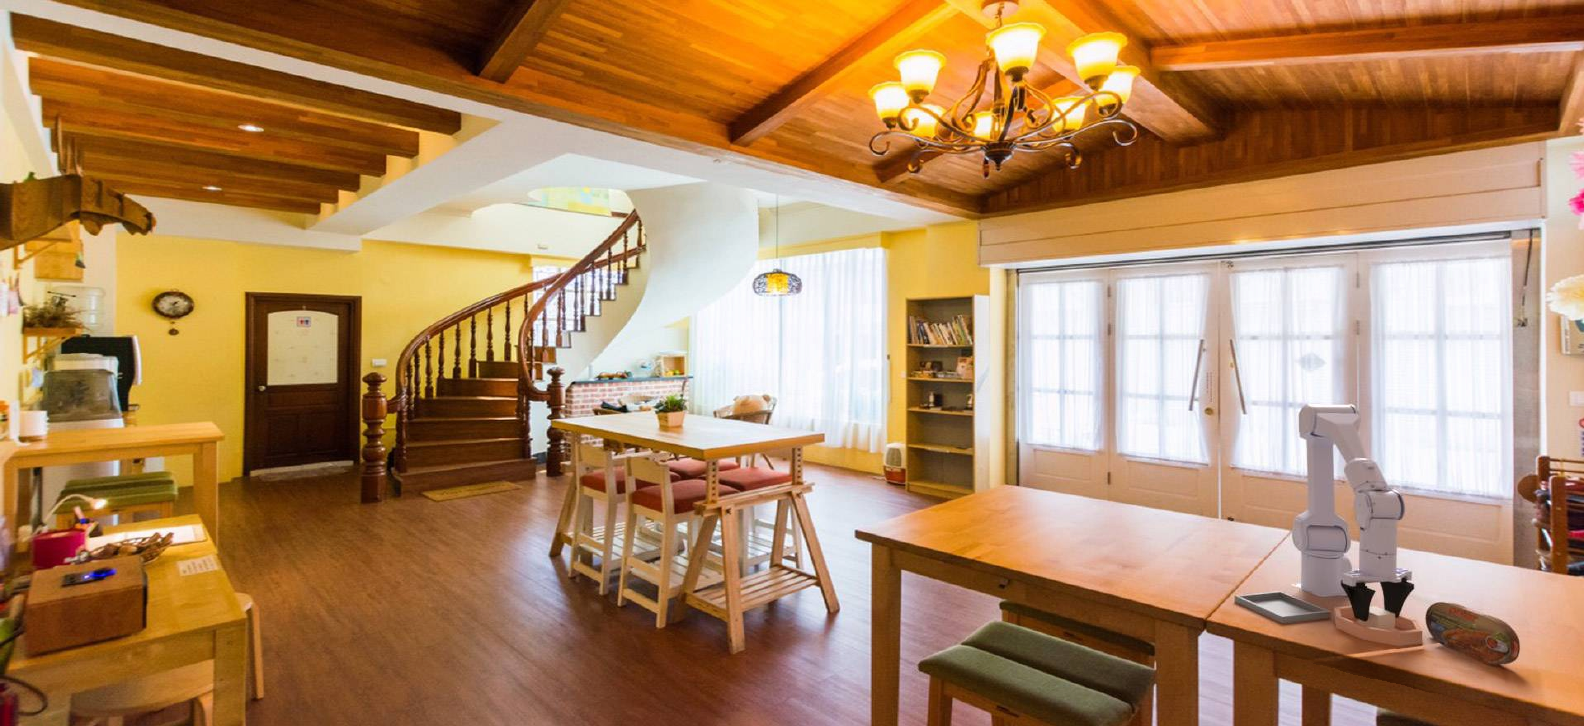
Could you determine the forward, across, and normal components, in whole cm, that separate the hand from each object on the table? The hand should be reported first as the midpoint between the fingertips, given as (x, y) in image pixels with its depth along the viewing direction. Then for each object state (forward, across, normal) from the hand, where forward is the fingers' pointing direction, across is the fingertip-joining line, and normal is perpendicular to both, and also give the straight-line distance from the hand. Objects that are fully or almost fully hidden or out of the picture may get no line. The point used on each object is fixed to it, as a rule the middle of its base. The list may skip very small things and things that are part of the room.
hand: (1376, 617), depth 140 cm
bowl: (+3, 0, 0) cm, 3 cm away
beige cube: (+3, 0, 0) cm, 3 cm away
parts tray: (+3, -9, +13) cm, 16 cm away
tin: (+3, +8, -11) cm, 14 cm away
